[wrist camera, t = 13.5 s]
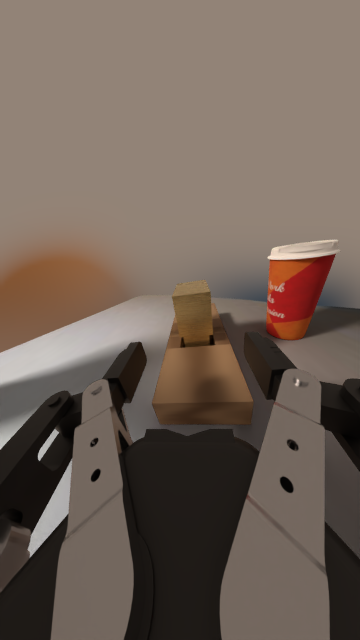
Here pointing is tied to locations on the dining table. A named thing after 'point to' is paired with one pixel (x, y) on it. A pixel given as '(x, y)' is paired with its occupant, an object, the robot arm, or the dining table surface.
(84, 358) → the dining table surface
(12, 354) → the dining table surface
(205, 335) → the tan boxy piece
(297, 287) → the paper cup
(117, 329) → the dining table surface
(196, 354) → the brown flat wooden block
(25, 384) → the dining table surface
